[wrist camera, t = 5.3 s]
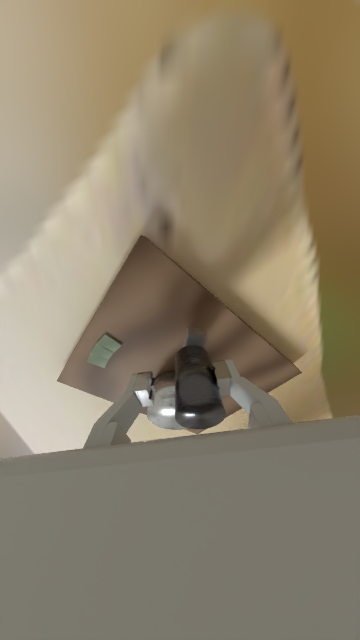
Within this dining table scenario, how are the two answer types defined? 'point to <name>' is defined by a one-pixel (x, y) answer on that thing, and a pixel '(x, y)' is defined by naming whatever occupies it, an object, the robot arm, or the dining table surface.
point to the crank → (188, 389)
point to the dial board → (165, 332)
